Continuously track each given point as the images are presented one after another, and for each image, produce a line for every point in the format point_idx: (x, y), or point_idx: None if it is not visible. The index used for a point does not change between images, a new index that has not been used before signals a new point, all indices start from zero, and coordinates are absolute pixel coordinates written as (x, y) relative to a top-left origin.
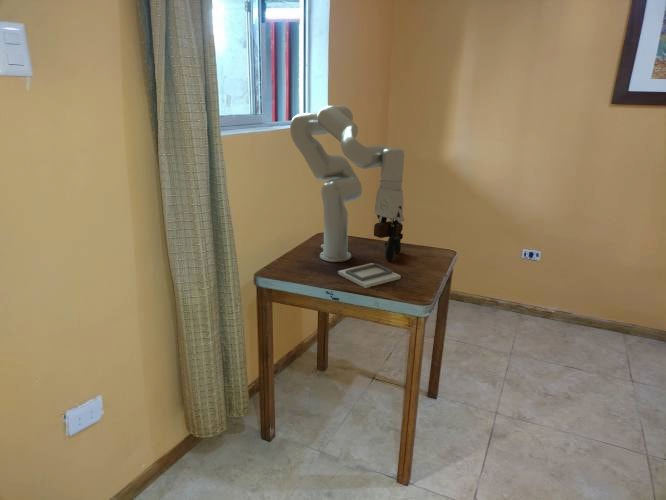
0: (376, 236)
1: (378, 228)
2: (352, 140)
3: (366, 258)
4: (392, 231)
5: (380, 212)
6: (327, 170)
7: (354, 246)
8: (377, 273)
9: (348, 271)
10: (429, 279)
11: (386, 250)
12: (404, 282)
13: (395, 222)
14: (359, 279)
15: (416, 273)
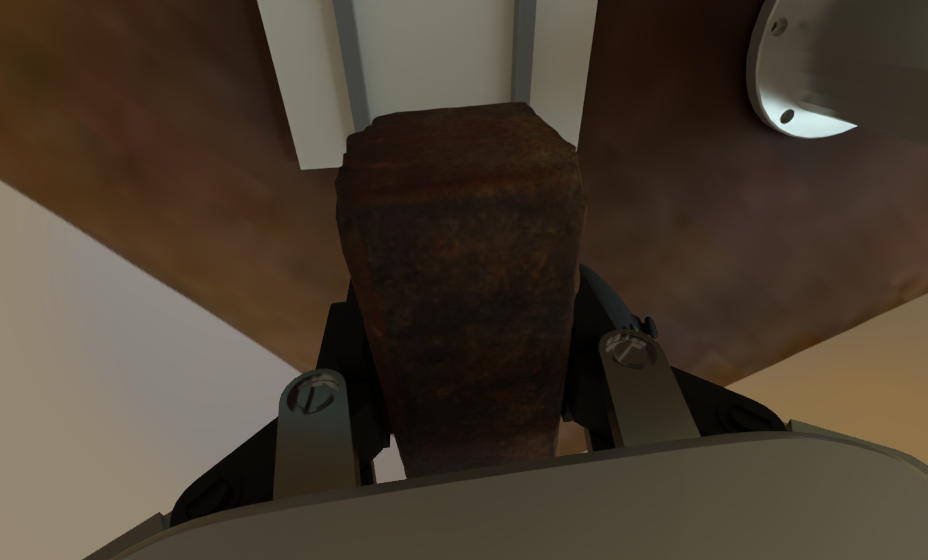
0: (457, 107)
1: (430, 158)
2: None
3: (674, 190)
4: (335, 330)
5: (681, 552)
6: None
7: (832, 241)
8: (349, 9)
9: None
10: (240, 286)
11: (595, 289)
12: (235, 144)
13: (231, 484)
14: None
15: (344, 281)
